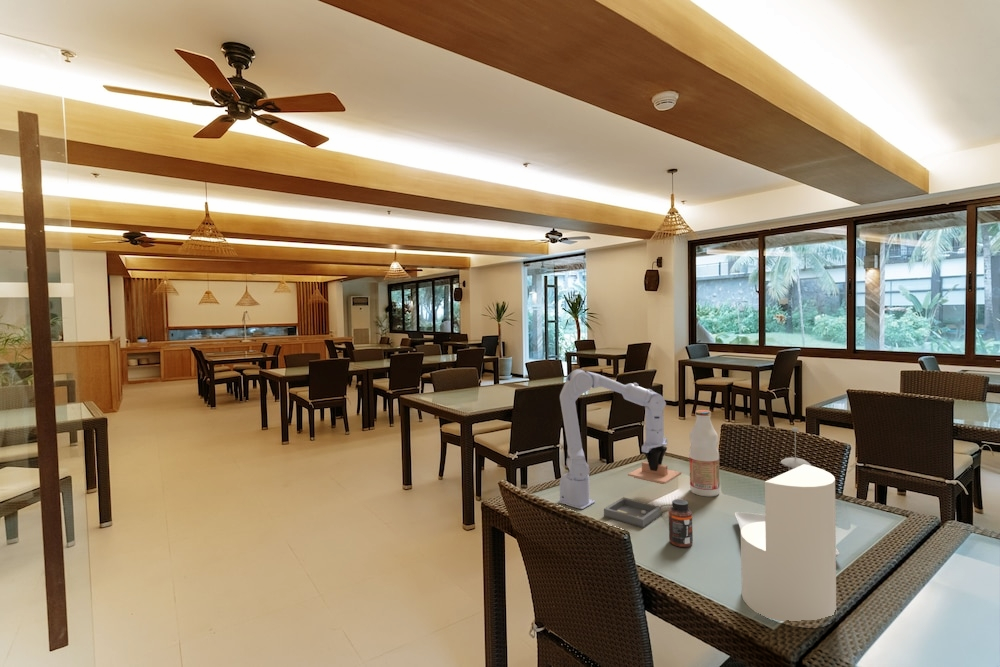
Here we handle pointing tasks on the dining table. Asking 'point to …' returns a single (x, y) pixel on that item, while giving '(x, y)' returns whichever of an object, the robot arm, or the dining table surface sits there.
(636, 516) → the tub
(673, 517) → the supplement bottle
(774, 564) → the white stepped round block
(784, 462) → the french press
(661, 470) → the lid
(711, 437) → the fruit juice
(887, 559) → the dining table surface
